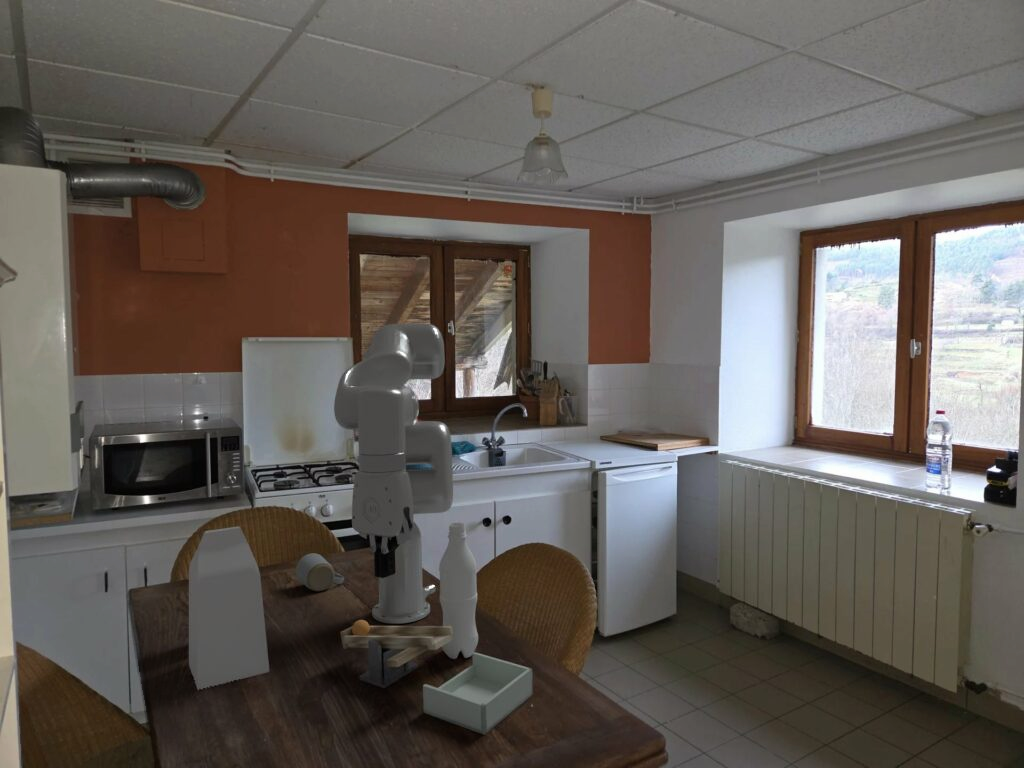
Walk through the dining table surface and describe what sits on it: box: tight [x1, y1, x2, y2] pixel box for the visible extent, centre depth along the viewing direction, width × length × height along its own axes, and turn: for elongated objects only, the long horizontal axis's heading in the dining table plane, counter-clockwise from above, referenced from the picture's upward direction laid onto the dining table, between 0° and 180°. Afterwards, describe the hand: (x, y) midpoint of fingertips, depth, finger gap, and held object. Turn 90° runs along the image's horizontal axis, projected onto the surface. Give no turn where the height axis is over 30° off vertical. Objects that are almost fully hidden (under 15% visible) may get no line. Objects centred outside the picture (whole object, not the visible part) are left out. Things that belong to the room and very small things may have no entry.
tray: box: [422, 651, 534, 736], centre depth 114 cm, size 14×12×4 cm
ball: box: [351, 619, 370, 636], centre depth 129 cm, size 3×3×3 cm
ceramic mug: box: [295, 552, 345, 592], centre depth 171 cm, size 11×8×8 cm
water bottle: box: [438, 522, 479, 660], centre depth 132 cm, size 7×7×25 cm
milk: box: [188, 525, 270, 691], centre depth 128 cm, size 12×12×26 cm
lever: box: [340, 625, 453, 667], centre depth 121 cm, size 22×12×3 cm, turn 57°
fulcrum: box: [358, 639, 419, 689], centre depth 125 cm, size 6×9×7 cm, turn 147°
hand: (385, 575), depth 114 cm, fingers closed
